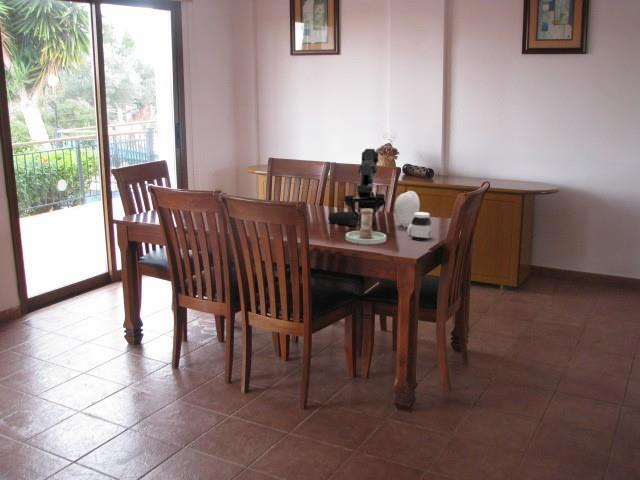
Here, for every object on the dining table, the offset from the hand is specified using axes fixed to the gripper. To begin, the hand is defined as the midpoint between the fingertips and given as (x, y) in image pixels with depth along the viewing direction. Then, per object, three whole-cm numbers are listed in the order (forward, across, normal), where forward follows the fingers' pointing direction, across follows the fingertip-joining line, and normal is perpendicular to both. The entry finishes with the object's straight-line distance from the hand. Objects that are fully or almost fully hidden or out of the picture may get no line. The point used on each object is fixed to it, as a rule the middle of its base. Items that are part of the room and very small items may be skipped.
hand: (363, 215), depth 323 cm
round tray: (+12, +2, 0) cm, 12 cm away
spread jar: (+6, +24, +11) cm, 27 cm away
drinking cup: (-11, -22, +20) cm, 31 cm away
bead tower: (+12, +2, 0) cm, 12 cm away
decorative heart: (-8, +15, +26) cm, 31 cm away
